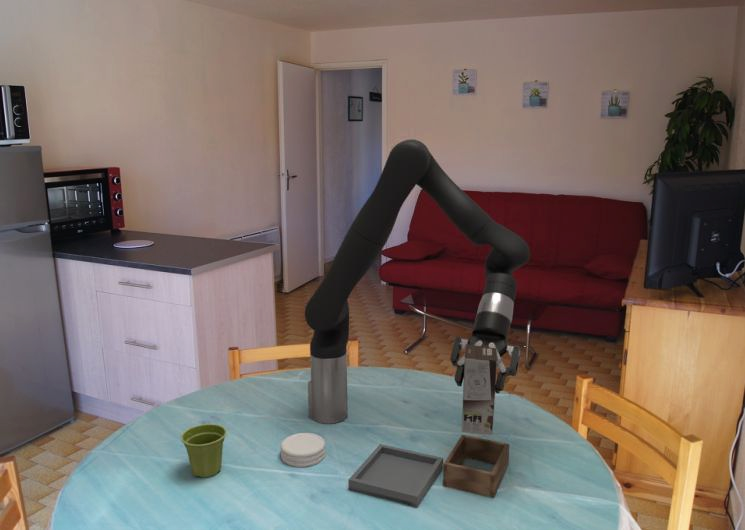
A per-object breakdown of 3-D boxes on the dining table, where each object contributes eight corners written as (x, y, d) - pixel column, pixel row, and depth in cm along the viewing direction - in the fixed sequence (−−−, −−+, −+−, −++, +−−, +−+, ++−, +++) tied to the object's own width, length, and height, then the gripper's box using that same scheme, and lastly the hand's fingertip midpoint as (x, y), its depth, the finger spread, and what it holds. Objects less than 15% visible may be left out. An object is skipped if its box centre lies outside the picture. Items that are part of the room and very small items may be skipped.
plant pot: (188, 487, 126) (185, 449, 124) (180, 465, 134) (177, 429, 132) (233, 475, 130) (231, 438, 128) (222, 455, 138) (220, 420, 137)
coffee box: (493, 436, 123) (497, 360, 119) (460, 432, 124) (463, 358, 120) (493, 415, 131) (497, 344, 128) (463, 412, 133) (466, 342, 129)
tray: (348, 489, 125) (348, 479, 124) (380, 453, 139) (380, 444, 138) (417, 507, 119) (417, 496, 118) (443, 467, 133) (443, 457, 132)
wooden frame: (442, 485, 126) (443, 463, 125) (461, 454, 138) (462, 434, 137) (493, 497, 122) (494, 475, 121) (508, 464, 134) (509, 444, 133)
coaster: (333, 451, 140) (333, 437, 139) (309, 472, 132) (308, 457, 131) (297, 442, 145) (297, 428, 144) (272, 461, 136) (271, 447, 136)
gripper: (458, 305, 132) (440, 375, 124) (525, 314, 126) (510, 387, 119) (464, 322, 138) (447, 389, 130) (528, 331, 132) (514, 401, 125)
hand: (477, 388), depth 124 cm, fingers closed on coffee box, 7 cm apart
